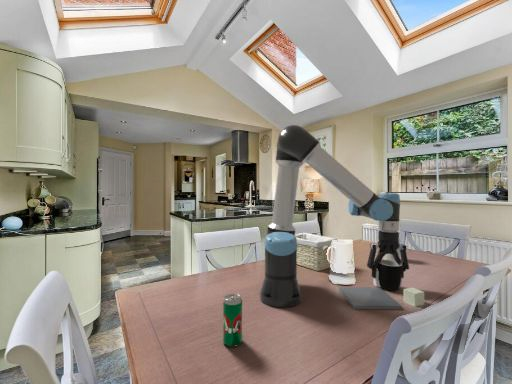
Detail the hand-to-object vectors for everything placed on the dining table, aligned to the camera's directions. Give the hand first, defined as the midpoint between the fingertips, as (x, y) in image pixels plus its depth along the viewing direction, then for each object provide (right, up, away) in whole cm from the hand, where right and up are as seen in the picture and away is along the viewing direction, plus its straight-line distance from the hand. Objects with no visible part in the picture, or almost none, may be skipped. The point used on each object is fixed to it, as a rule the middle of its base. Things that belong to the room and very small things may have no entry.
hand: (387, 285), depth 106 cm
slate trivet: (-13, -1, -11) cm, 17 cm away
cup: (+23, 0, +40) cm, 46 cm away
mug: (-1, 0, 0) cm, 1 cm away
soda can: (-60, -1, -38) cm, 71 cm away
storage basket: (-25, 0, +32) cm, 41 cm away
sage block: (+2, -1, -14) cm, 14 cm away
